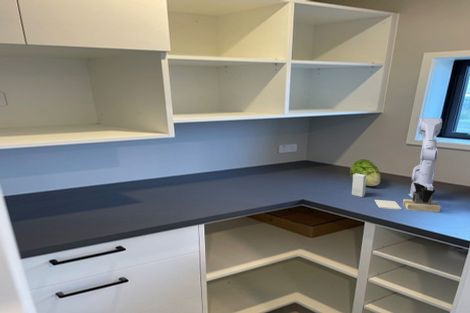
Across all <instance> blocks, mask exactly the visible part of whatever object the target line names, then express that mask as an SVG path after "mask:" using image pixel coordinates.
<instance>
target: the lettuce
mask: <svg viewBox="0 0 470 313" xmlns="http://www.w3.org/2000/svg"><path fill="white" fill-rule="evenodd" d="M355 173H357V174H363V175H366V187H374V186H378V185H379V184H380V183H381V172H380V170H379V168H378V167H377V166H376V164H375V163H373V162H372V161H370V160H368V159H366V158H365V159H364V158H363V159H357V160H356V161H355V162H353V163H352V165H351V166H350V168H349V174H350V178H351V179H352V180H353V175H354V174H355Z"/></svg>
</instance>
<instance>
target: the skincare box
mask: <svg viewBox="0 0 470 313" xmlns="http://www.w3.org/2000/svg"><path fill="white" fill-rule="evenodd" d="M366 187H367V186H366V175H363V174H357V173H355V174H354V175H353V179H352V188H351V195H352V196H355V197H361V198H363V197H365V196H366Z"/></svg>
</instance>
